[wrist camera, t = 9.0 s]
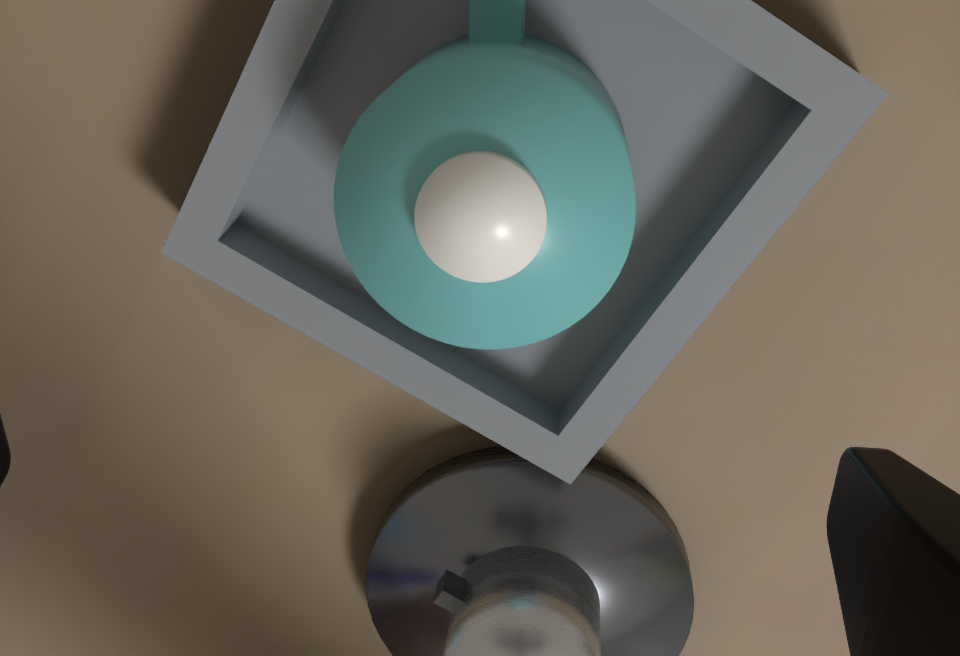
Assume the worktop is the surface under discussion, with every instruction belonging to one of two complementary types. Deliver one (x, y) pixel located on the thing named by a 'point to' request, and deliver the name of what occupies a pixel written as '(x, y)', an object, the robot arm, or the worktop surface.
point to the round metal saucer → (528, 564)
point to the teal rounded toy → (488, 188)
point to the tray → (655, 169)
